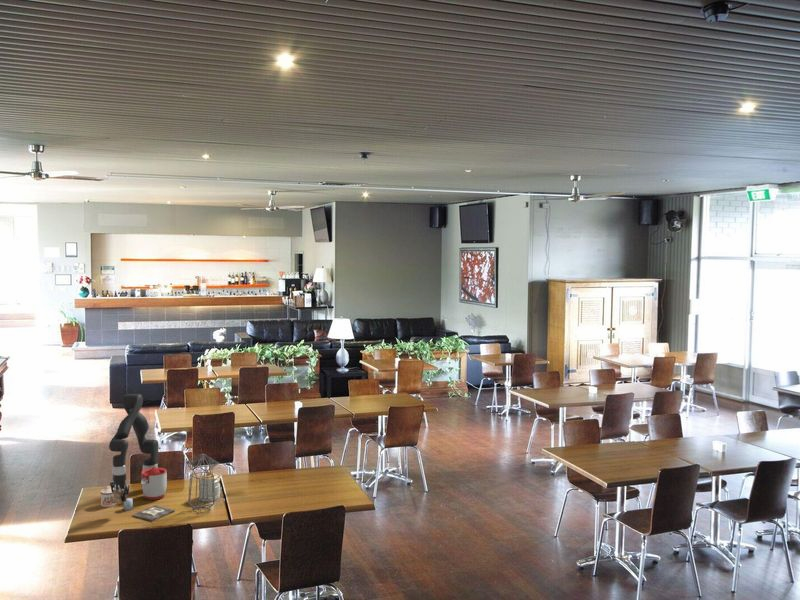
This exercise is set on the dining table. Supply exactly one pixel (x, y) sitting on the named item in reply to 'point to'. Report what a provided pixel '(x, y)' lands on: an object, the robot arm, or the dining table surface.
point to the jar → (209, 486)
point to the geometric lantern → (201, 478)
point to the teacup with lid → (107, 497)
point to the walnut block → (118, 497)
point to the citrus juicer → (154, 483)
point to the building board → (153, 513)
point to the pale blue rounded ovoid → (128, 504)
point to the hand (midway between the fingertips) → (120, 500)
